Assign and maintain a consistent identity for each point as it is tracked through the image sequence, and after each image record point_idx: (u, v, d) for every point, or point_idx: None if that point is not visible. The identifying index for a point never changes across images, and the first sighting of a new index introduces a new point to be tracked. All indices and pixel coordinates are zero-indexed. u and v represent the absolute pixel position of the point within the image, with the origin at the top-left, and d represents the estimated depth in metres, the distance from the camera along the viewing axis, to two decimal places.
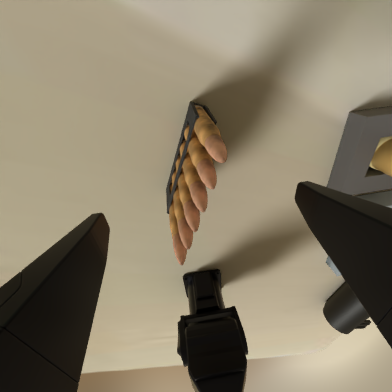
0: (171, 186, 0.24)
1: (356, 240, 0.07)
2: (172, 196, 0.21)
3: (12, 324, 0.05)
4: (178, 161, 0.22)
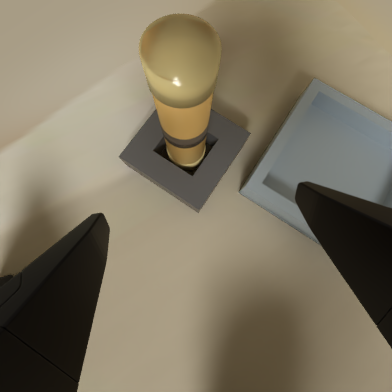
0: None
1: (356, 240, 0.07)
2: None
3: (12, 324, 0.05)
4: None
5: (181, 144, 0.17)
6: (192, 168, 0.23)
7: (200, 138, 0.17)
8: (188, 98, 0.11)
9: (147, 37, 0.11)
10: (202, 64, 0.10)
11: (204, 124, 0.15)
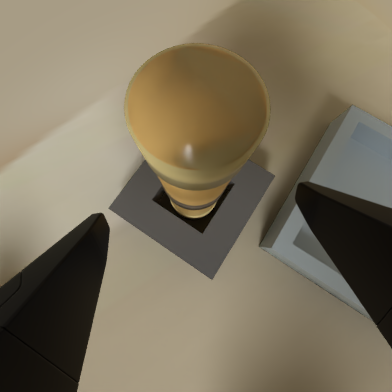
0: None
1: (356, 240, 0.07)
2: None
3: (12, 324, 0.05)
4: None
5: (190, 207, 0.13)
6: (201, 217, 0.19)
7: (216, 199, 0.12)
8: (210, 183, 0.07)
9: (139, 86, 0.06)
10: (237, 135, 0.06)
11: (224, 188, 0.11)
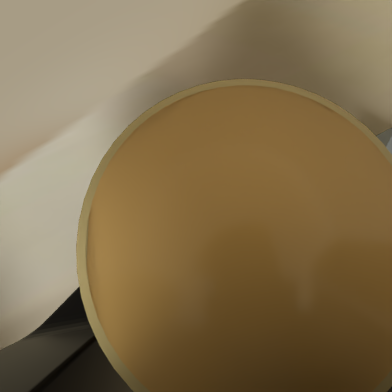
0: None
1: None
2: None
3: None
4: None
5: None
6: None
7: None
8: None
9: (116, 186, 0.03)
10: (360, 321, 0.02)
11: None
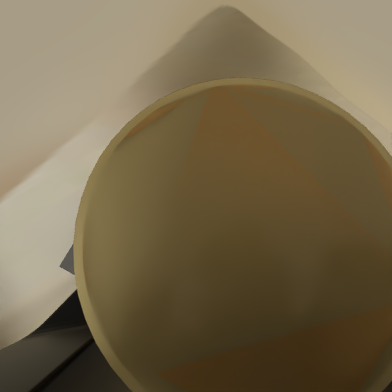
0: None
1: None
2: None
3: None
4: None
5: None
6: None
7: None
8: None
9: (113, 185, 0.03)
10: (357, 320, 0.02)
11: None
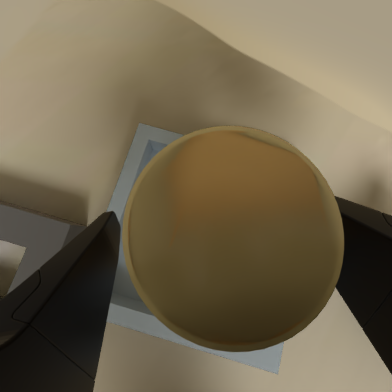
0: None
1: None
2: None
3: (35, 320, 0.05)
4: None
5: None
6: None
7: None
8: None
9: (145, 197, 0.04)
10: (297, 280, 0.04)
11: None
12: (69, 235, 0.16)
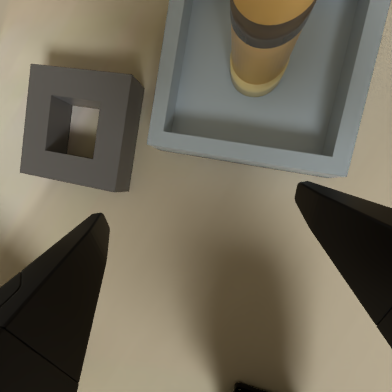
0: None
1: (356, 240, 0.07)
2: None
3: (12, 324, 0.05)
4: None
5: (269, 39, 0.10)
6: (268, 90, 0.16)
7: (305, 18, 0.10)
8: None
9: None
10: None
11: None
12: (132, 87, 0.18)
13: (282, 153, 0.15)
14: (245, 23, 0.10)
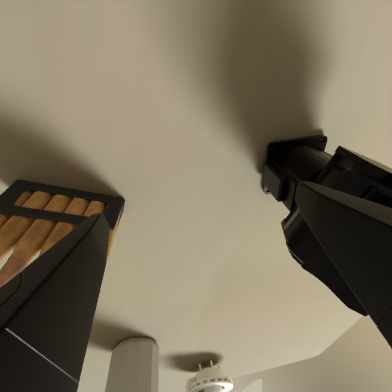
0: None
1: (356, 240, 0.07)
2: None
3: (12, 324, 0.05)
4: None
5: None
6: None
7: None
8: None
9: None
10: None
11: None
12: None
13: None
14: None
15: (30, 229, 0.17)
